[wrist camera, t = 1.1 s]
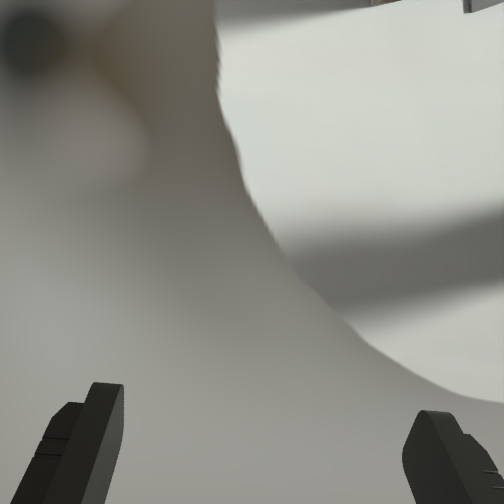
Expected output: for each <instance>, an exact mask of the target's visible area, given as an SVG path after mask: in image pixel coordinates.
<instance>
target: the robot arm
mask: <svg viewBox="0 0 504 504" xmlns="http://www.w3.org/2000/svg"><path fill="white" fill-rule="evenodd" d="M123 427H124V386H123V385H122V384H110V383H98V382H94V383H93V384H92V386H91V388H90V390H89V392H88V395H87V397H86V400H85V402H84V403H77V402H68V403H67V404H66V405H65V406H64V407H62V408H61V409H60V410H59V411H58V412H57V413H56V414H55V415H54V416H53V417H52V418H51V420H50V422H49V425H48V427H47V429H46V431H45V433H44V435H43V437H42V441H40V443H39V445H38V447H37V449H36V452H35V455H34V457H33V458H32V460H31V462H30V464H29V466H28V468H27V470H26V472H25V474H24V476H23V478H22V480H21V482H20V484H19V486H18V489H17V491H16V493H15V495H14V497H13V499H12V501H11V503H10V504H104V503H105V500H106V496H107V492H108V489H109V486H110V483H111V479H112V476H113V472H114V468H115V465H116V461H117V457H118V454H119V451H120V446H121V442H122V436H123ZM402 462H403V468H404V472H405V475H406V477H407V480H408V482H409V485H410V488H411V491H412V493H413V496H414V499H415V501H416V504H504V479H503V478H502V476H501V475H500V474H498V469H497V468H496V466H495V464H494V462H493V461H492V459H491V458H490V456H489V454H488V452H487V451H486V450H485V449H484V448H483V447H482V446H481V445H480V444H479V443H478V442H477V441H476V440H475V439H474V438H473V437H472V436H471V435H470V434H463V432H462V430H461V428H460V426H459V424H458V423H457V421H456V419H455V417H454V416H453V415H452V414H451V413H449V412H438V411H426V410H425V411H424V410H421V411H420V412H419V413H418V415H417V417H416V419H415V421H414V424H413V426H412V428H411V431H410V433H409V435H408V438H407V440H406V443H405V445H404V448H403V453H402Z"/></svg>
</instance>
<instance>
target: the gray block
mask: <svg viewBox="0 0 504 504" xmlns="http://www.w3.org/2000/svg"><path fill="white" fill-rule="evenodd" d="M502 2H504V0H469V5H470V13H473V12H476V11H479V10H482V9H485V8H488V7H491V6H494V5H497V4H499V3H502Z"/></svg>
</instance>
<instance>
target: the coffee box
mask: <svg viewBox="0 0 504 504" xmlns="http://www.w3.org/2000/svg"><path fill="white" fill-rule="evenodd" d="M396 1H400V0H370V2H371V6H373V7H374V6H378V5H383V4H387V3H392V2H396Z"/></svg>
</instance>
